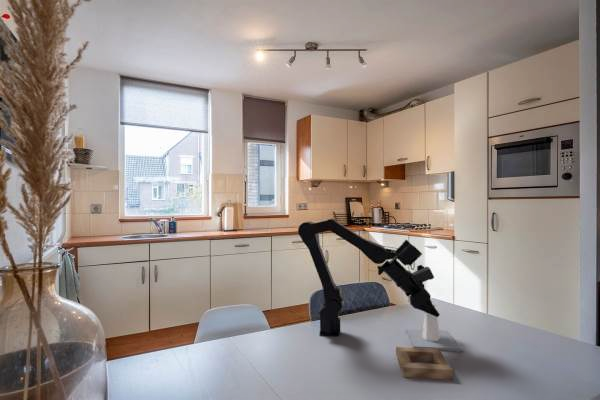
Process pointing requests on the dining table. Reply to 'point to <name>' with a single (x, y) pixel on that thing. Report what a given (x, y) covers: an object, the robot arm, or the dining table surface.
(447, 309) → the dining table surface
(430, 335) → the pepper shaker
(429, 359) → the walnut collar
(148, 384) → the dining table surface
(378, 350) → the dining table surface
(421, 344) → the slate grey mat
